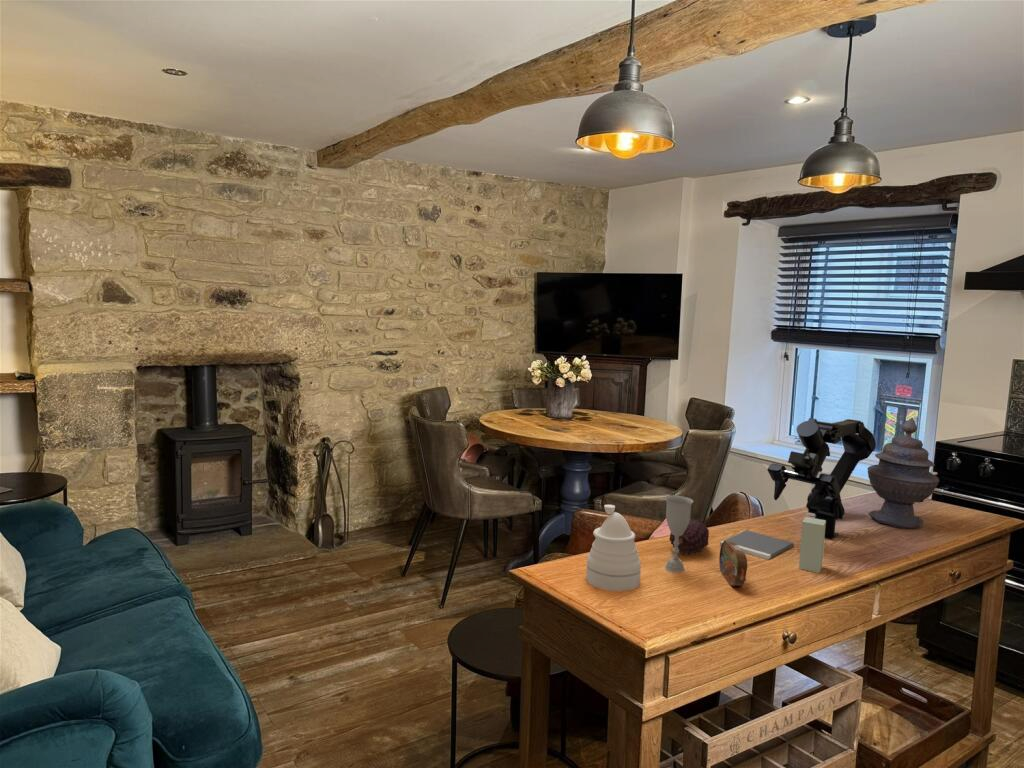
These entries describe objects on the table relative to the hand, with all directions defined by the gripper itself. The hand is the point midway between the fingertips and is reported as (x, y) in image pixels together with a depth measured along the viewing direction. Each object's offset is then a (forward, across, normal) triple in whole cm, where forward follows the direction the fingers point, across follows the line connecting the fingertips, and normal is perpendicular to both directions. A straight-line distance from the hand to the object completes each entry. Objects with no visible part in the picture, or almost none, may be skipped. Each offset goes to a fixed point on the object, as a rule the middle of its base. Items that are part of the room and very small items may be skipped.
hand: (790, 503), depth 193 cm
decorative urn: (-29, +9, +49) cm, 58 cm away
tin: (+31, +2, -12) cm, 34 cm away
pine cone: (+26, -16, -6) cm, 31 cm away
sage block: (+14, +10, +5) cm, 18 cm away
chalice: (+35, -11, -16) cm, 40 cm away
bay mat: (+12, -7, +8) cm, 16 cm away
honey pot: (+48, -16, -29) cm, 59 cm away
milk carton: (-20, -9, +40) cm, 45 cm away
